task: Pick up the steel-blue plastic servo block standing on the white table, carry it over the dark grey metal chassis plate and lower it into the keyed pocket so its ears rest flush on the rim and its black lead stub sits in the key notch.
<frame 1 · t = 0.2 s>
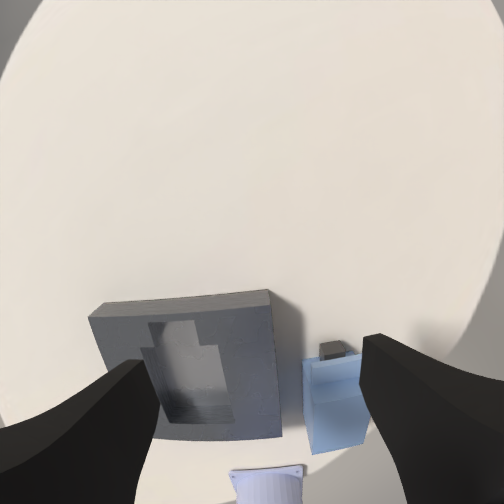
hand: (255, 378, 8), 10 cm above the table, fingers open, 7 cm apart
chassis: (195, 369, 19), on the table
servo: (326, 383, 20), on the table
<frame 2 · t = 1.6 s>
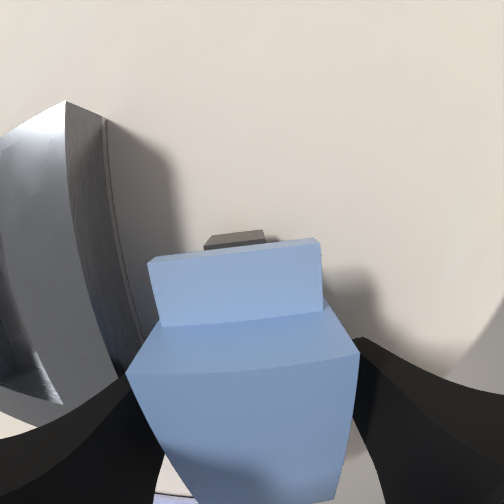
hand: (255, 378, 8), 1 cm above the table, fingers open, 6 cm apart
chassis: (24, 296, 9), on the table
servo: (254, 353, 10), on the table
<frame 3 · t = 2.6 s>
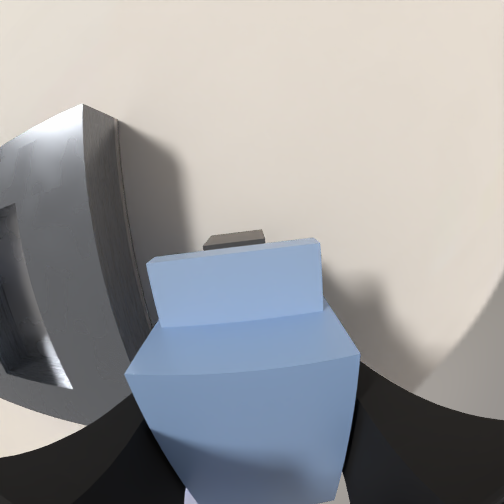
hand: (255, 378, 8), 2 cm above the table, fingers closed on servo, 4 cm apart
chassis: (35, 286, 10), on the table
servo: (254, 353, 10), point 1 cm above the table, touching gripper
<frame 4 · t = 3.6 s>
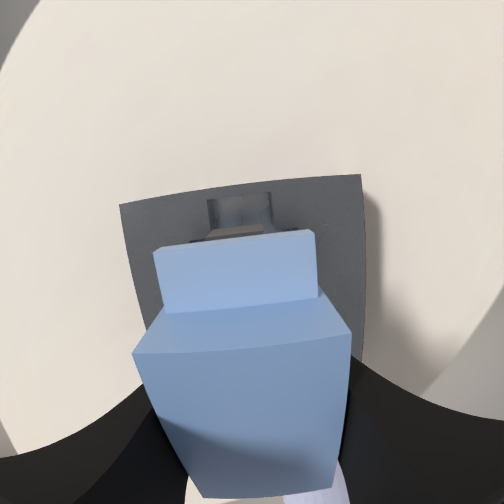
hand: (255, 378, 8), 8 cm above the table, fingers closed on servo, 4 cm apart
chassis: (252, 289, 16), on the table
servo: (253, 344, 10), point 6 cm above the table, touching gripper
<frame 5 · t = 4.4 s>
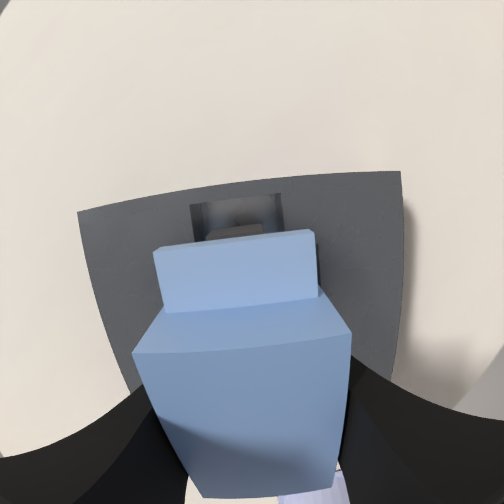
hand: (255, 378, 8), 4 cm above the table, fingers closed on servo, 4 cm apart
chassis: (253, 318, 12), on the table
servo: (253, 344, 10), point 2 cm above the table, touching gripper
when the fingers open (3 cm above the table, at t = 5.1 s): servo stays where it is, resting on chassis.
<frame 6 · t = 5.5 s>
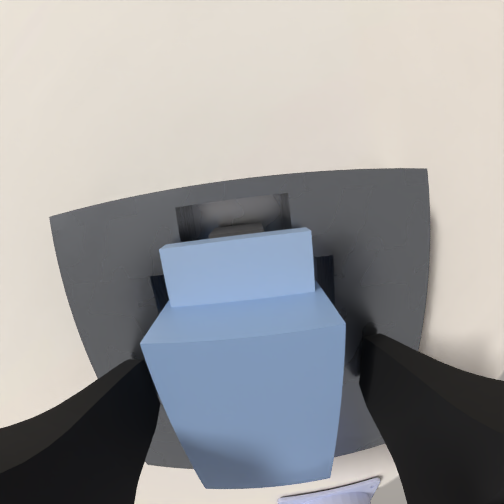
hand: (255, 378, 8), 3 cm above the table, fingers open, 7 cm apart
chassis: (253, 337, 11), on the table
servo: (253, 338, 10), resting on chassis
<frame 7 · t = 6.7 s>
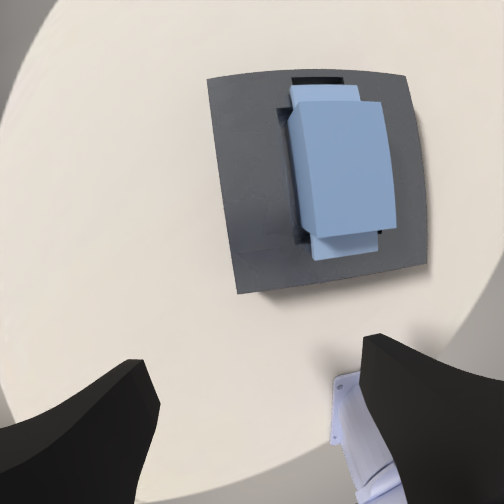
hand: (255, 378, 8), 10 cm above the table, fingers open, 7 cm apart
chassis: (322, 173, 16), on the table
servo: (323, 171, 16), resting on chassis
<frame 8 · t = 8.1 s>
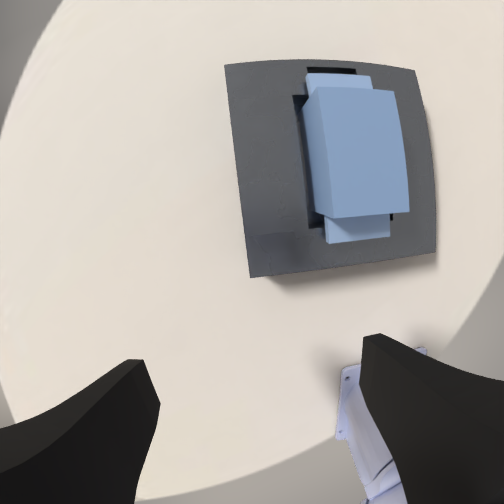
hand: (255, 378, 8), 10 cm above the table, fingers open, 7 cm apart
chassis: (334, 161, 16), on the table
servo: (335, 159, 16), resting on chassis
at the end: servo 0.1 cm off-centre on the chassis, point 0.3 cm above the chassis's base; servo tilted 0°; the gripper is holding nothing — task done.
